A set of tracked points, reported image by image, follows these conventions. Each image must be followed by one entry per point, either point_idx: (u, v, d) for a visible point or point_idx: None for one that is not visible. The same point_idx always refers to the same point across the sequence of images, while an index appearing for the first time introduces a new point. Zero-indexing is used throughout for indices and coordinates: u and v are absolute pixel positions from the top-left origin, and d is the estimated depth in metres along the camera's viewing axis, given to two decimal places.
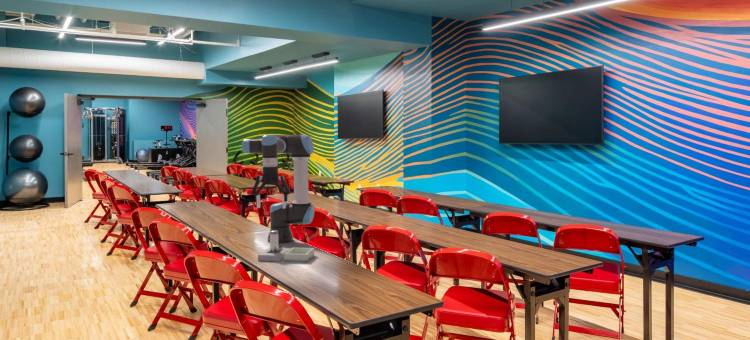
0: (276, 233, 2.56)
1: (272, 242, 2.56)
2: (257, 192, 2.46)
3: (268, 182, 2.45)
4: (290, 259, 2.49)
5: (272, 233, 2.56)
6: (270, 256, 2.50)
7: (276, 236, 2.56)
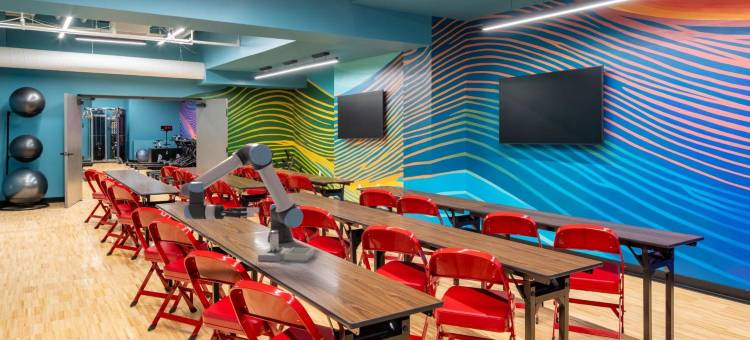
0: (276, 233, 2.56)
1: (272, 242, 2.56)
2: None
3: None
4: (290, 259, 2.49)
5: (272, 233, 2.56)
6: (270, 256, 2.50)
7: (276, 236, 2.56)
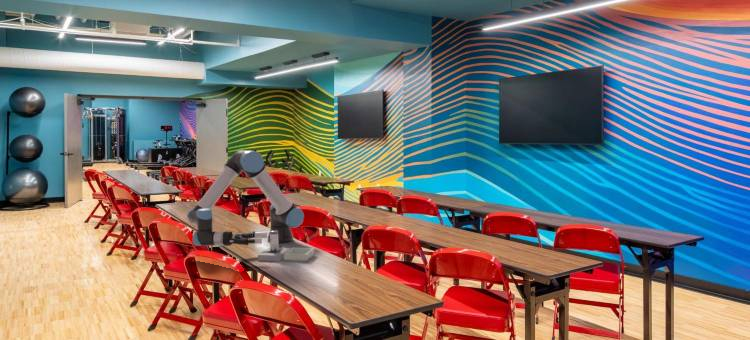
0: (276, 233, 2.56)
1: (272, 242, 2.56)
2: (252, 237, 2.64)
3: None
4: (290, 259, 2.49)
5: (272, 233, 2.56)
6: (270, 256, 2.50)
7: (276, 236, 2.56)
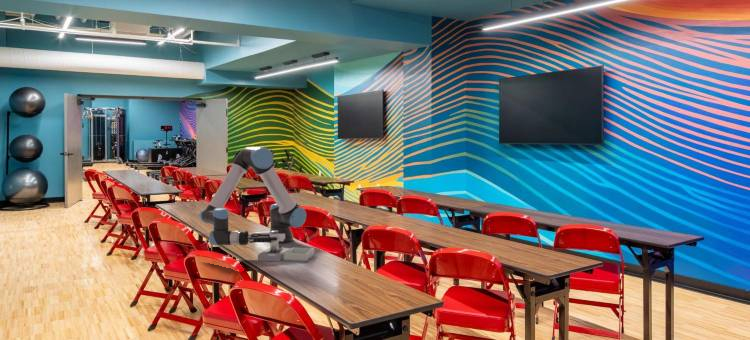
0: (276, 233, 2.56)
1: (272, 242, 2.56)
2: None
3: None
4: (290, 259, 2.49)
5: (272, 233, 2.56)
6: (270, 256, 2.50)
7: None
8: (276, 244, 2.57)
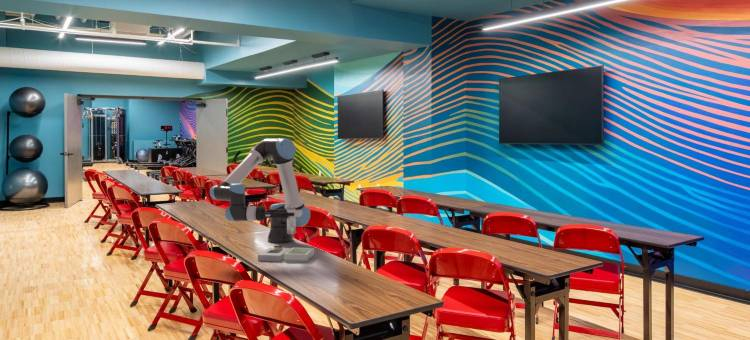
0: (293, 209, 2.52)
1: (289, 218, 2.52)
2: None
3: None
4: (290, 259, 2.49)
5: (289, 208, 2.51)
6: (270, 256, 2.50)
7: None
8: (293, 220, 2.52)
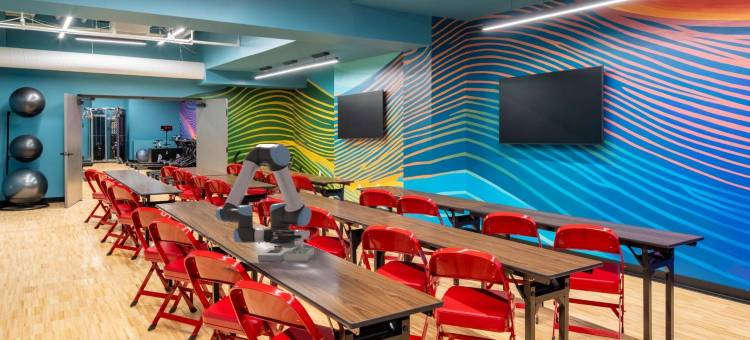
0: (301, 232, 2.53)
1: (297, 241, 2.53)
2: None
3: None
4: (290, 259, 2.49)
5: (297, 232, 2.52)
6: (270, 256, 2.50)
7: None
8: (301, 243, 2.53)
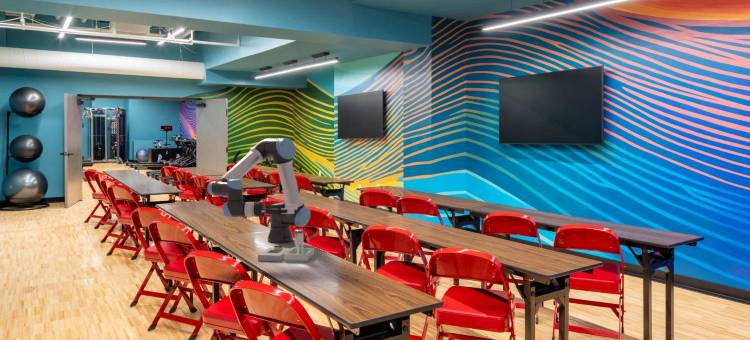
0: (301, 232, 2.53)
1: (297, 241, 2.53)
2: None
3: None
4: (290, 259, 2.49)
5: (297, 232, 2.52)
6: (270, 256, 2.50)
7: (301, 235, 2.53)
8: (301, 243, 2.53)
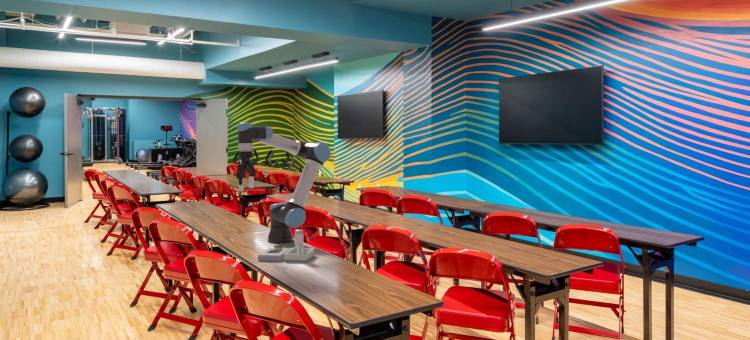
0: (301, 232, 2.53)
1: (297, 241, 2.53)
2: (249, 173, 2.75)
3: None
4: (290, 259, 2.49)
5: (297, 232, 2.52)
6: (270, 256, 2.50)
7: (301, 235, 2.53)
8: (301, 243, 2.53)
